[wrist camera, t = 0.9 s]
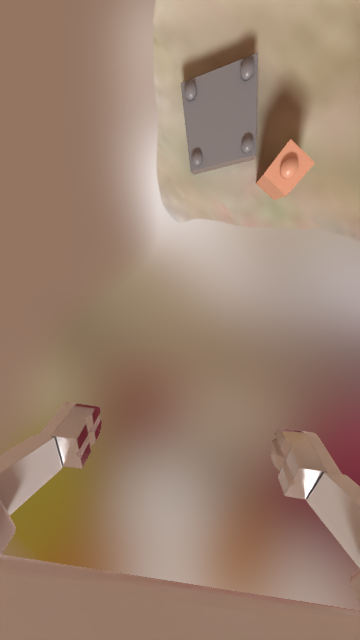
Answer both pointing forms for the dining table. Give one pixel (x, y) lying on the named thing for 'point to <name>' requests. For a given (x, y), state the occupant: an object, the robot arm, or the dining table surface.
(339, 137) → the dining table surface
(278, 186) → the terracotta brick
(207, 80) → the charcoal base brick
